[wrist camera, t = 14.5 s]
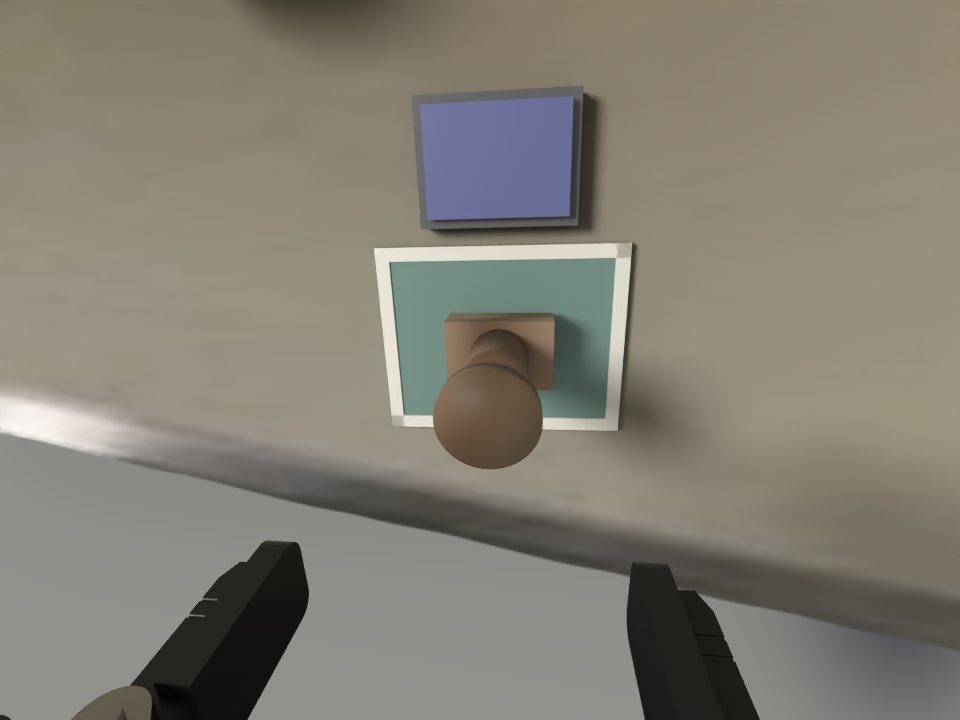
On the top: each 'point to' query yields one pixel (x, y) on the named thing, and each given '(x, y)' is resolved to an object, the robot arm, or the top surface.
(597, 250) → the green white framed board
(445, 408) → the stamp
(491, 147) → the ink pad
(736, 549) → the top surface
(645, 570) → the robot arm
